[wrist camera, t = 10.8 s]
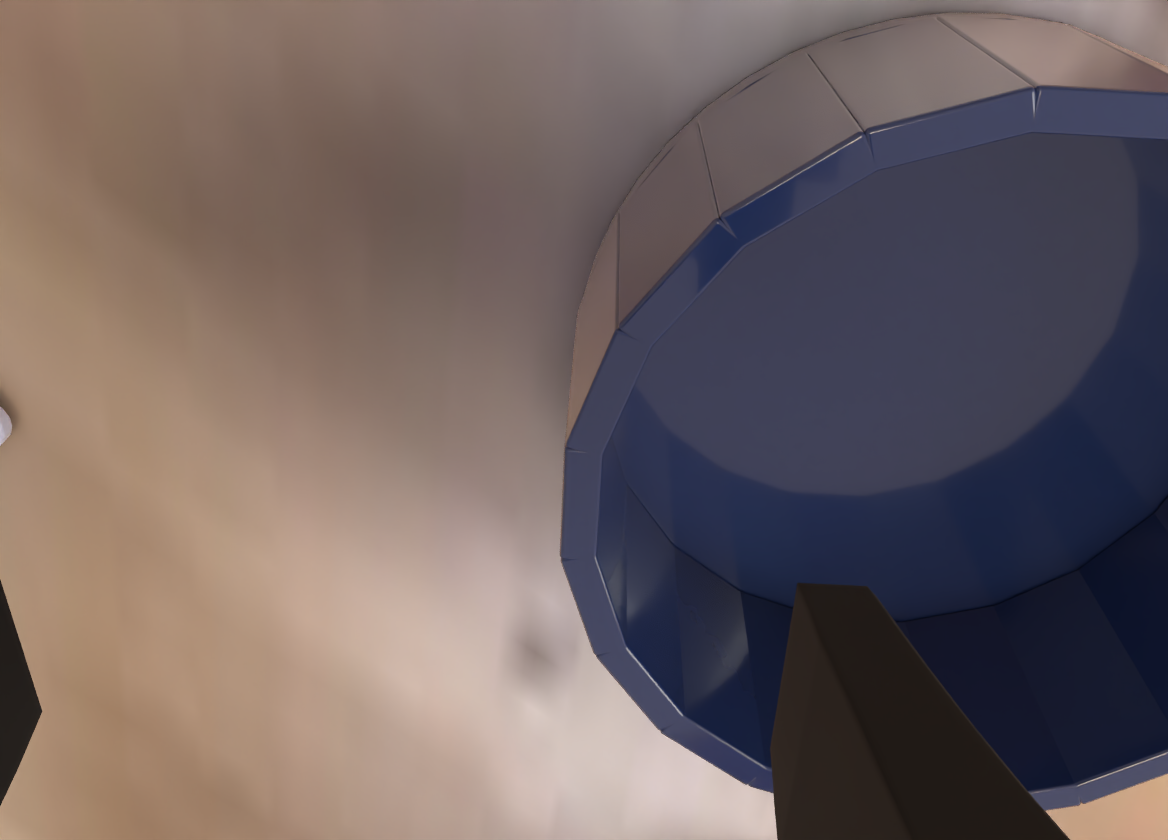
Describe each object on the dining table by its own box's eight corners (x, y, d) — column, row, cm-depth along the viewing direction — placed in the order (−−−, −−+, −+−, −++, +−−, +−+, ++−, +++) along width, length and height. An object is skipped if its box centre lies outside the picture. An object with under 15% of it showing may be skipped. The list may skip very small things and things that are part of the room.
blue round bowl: (443, 268, 19) (385, 414, 14) (1122, -164, 15) (1331, -148, 11) (772, 698, 24) (806, 905, 19) (1345, 452, 20) (1551, 637, 16)
